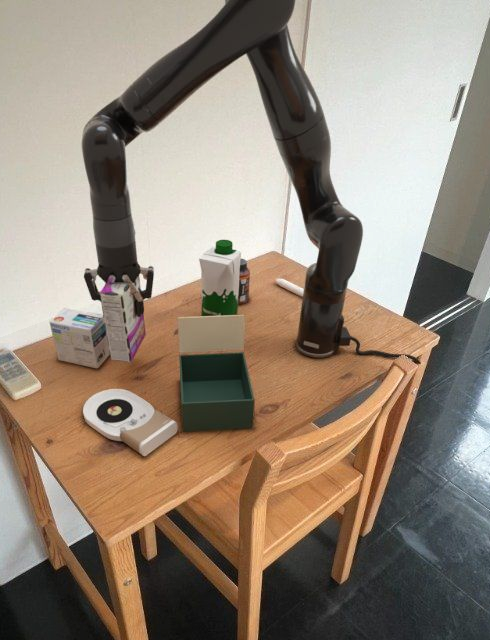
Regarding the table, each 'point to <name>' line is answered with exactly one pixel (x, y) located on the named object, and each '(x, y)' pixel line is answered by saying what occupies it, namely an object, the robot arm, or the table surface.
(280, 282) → the marker
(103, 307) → the candy bar box
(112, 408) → the record player
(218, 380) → the dark green open box
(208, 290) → the milk carton
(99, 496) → the table surface
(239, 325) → the flap
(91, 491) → the table surface
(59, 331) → the light bulb box
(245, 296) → the supplement bottle
